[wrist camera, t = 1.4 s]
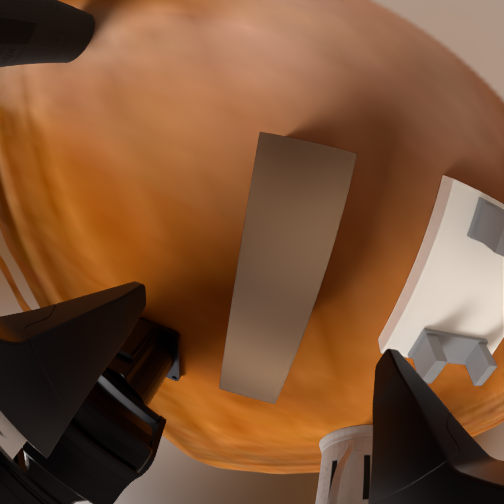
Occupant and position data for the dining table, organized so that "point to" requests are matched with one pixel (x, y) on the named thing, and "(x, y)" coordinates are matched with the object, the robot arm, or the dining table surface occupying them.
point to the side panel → (454, 288)
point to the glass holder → (346, 466)
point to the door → (282, 259)
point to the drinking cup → (42, 32)
